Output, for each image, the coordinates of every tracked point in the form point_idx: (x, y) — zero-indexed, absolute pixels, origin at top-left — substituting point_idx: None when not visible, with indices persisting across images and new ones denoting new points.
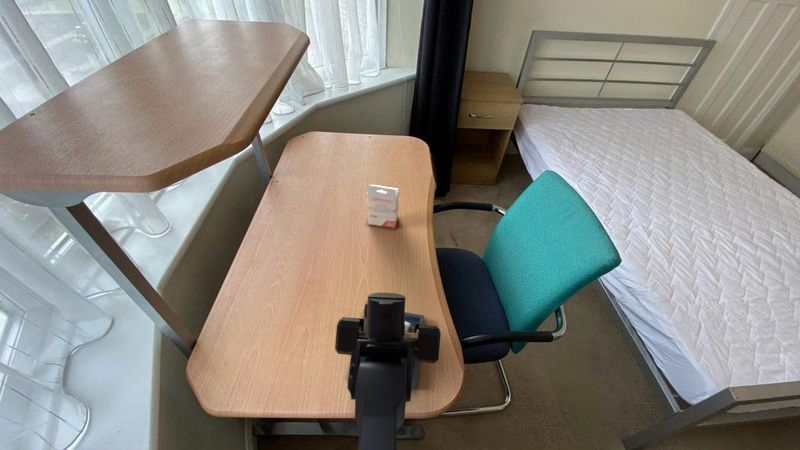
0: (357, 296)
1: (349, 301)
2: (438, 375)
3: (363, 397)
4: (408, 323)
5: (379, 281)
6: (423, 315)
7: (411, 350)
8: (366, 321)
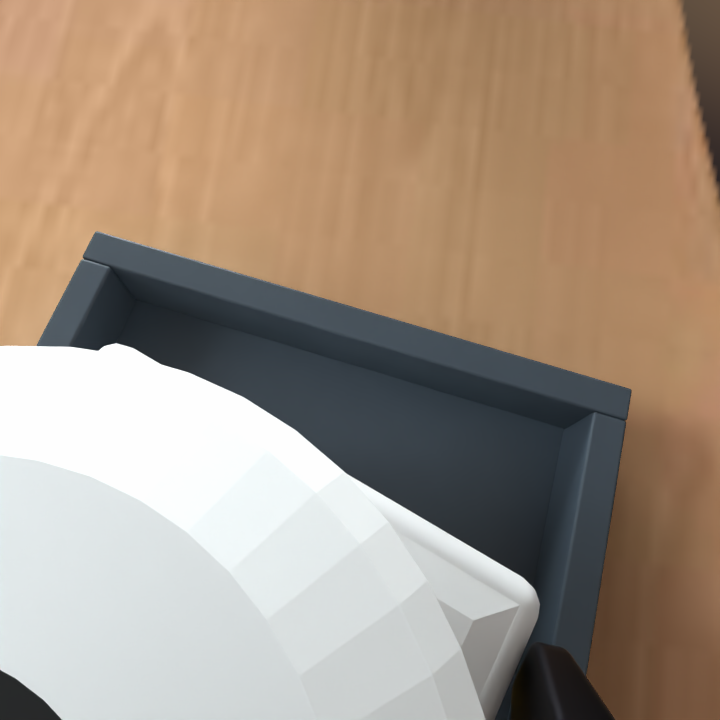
0: (79, 148)
1: (6, 180)
2: None
3: None
4: (511, 597)
5: (273, 57)
6: (625, 389)
7: None
8: None
